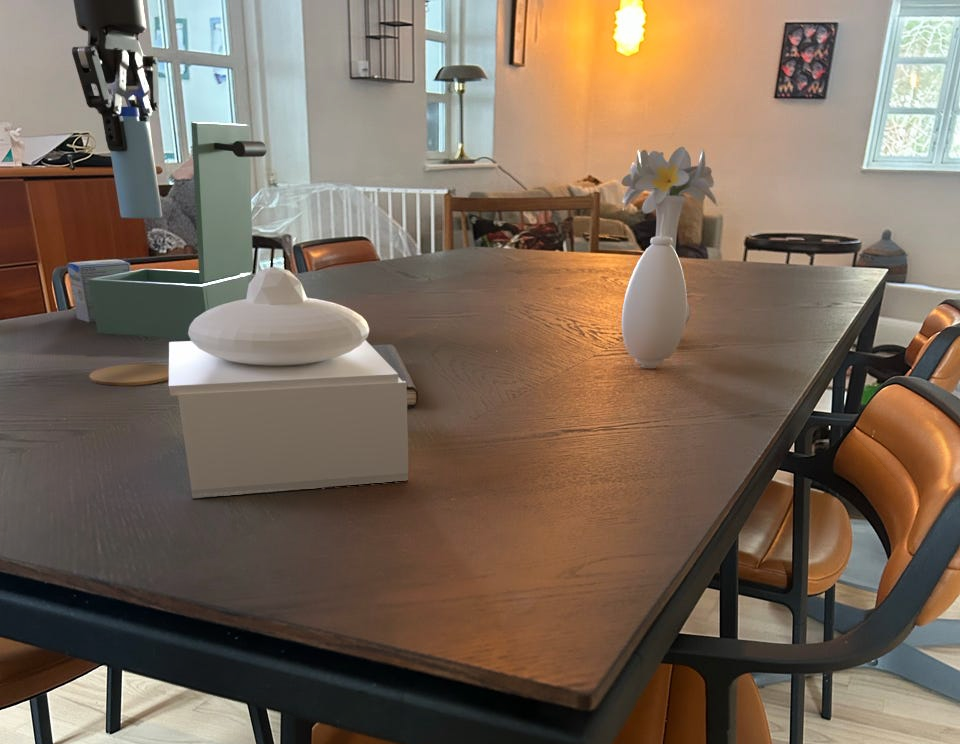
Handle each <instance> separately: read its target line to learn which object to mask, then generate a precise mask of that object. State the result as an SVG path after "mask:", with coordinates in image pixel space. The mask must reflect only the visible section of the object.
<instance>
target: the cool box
mask: <svg viewBox="0 0 960 744" xmlns="http://www.w3.org/2000/svg"><path fill="white" fill-rule="evenodd" d="M251 280H252V274H251V273H243V274H238V275H234V276H230V277H226V278H222V279H218V280H213V281H209V282H205V283H203V282H199V270H183V269H182V270H181V269H179V270H178V269H160V268H139V269H135V270H131V271H129V272H124V273H119V274H114V275H109V276H104V277H99V278H93V279H89V280H88V282H89V287H90V293H91V298H92V304H93V309H94V315H95V326H96V331H97V334H111V335H122V336H123V335H125V336H138V337H153V338H166V339H178V340H191V339H190V337H189V335H188V331H189V327H190V325H191V323H192V322H193V321H194V319H195V318H197V317H198V316H199V315H201V314H202V313H204V312H206V311H207V310H210V309H212V308H214V307H217V306H219V305H222V304H226V303H230V302H234V301H238V300H244V299H246V297H247V291H248V285H249V283H250V282H251Z"/></svg>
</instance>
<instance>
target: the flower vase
mask: <svg viewBox="0 0 960 744" xmlns="http://www.w3.org/2000/svg"><path fill="white" fill-rule="evenodd" d="M706 162H707V161H706V151H705V149H704V148H702V150H701V153H700V156H699V160H698V164H697V165H692V159H691V156H690V153H689V151H687V150H686V148H685V147H684V146H680V147H678V148H676V149H675V150H674V151H673V152H672V154H671V156H670V157H669V159H668V161H667V160H666V158H665V157H664V152H663V151H662V152H659V151H657V150H651V152H648V150H647V149H642V150H641V151H639V149H638V150H637V154H636V164H635V162H632V164H631V166H630V173H628V174H626V175H625V176H624V177H623V178H622V179H621V184H622V186H624V187H627V189H626V191H625V193H624V195H623V198H622V204H624V203H625V204H624V206H623V209H622V211H624V210H625V209H626V208H627V206H628V205H629V204H630V203H631V202H633V201H634V200H636V199H637V198H638V197H639V196H641V194H642V193H643V192H645V191H647V192H649V194H648V196H647V197H646V198H645V200H644V202H643V203H642V204H643V205H642V207H641V210H642V212H643V214H650V213H652V212H654V211H655V218H656V224H655V236H654V237H657V236H660V230H661V223H662V217H663V214H664V213H665V230H664V236H665V237H670V238H672V244H670V245H671V246H672V247H673V248H674V250H675V251H676V247H677V236H678V228H679V222H680V218H681V213H682V210H683V206H684V204H685V202H686V201H687V196H686V195H688V196H690V197H691V198H693V199H694V200H696V201H699V202H702V201H704V200H705V199H706V197H707V198H708V199H709V200H710V201H711V202H712V203H713V204H714V205H715V206H716V207H718V206H719V205H718V202H717V199H716V197H715V195H714V193H713V192H712V190H711V189H710V188H713V187H714V186H715V181H714V177H713V175H712V171H713V170H712V169H711V167H709V166H706V165H707V163H706ZM650 192H651V193H650ZM690 318H691V307H690V304H689V303H688V301H687V312H686V321H685V326H686V325H687V323H688V322H689V320H690Z"/></svg>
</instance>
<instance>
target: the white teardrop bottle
mask: <svg viewBox="0 0 960 744" xmlns="http://www.w3.org/2000/svg"><path fill="white" fill-rule="evenodd" d="M664 230H665V213H664V214H663V217H662V223H661V230H660V236H657V237H655V236H653V237H651V238H650V241H649V243H650V245H649V246H648V247H647V248H646V249H645V250H644V252H643V253H642V255H641V256H640V258H639V259H638V262H637V263H636V265H635V267H634V270H633V272H632V274H631V276H630V279H629V282H628V285H627V288H626V291H625V296H624V299H623V305H622V312H621V334H622V339H623V340H622V341H623V344H624V346H625V349H626V351H627V354H628V356H630V357H631V358H635V359H634V362H635V364H638V365H641V368H643V369H649V370H650V369H656V368H657V366H661V365H663V364H664V362H665V360H667V359H670V358H671V357H672V356H673V355H674V353H675V351H676V350H677V348H678V347H679V344H680V342H681V339H682V337H683V334H684V331H685V326H686V325H685V321H686V312H687V302H688V301H687V300H688V296H687V287H686V280H685V276H684V275H685V274H684V270H683V267H682V264H681V261H680V258H679V256H678V254H677V252H676V250H674V248H673V247H672V246H671V245H670V244H672V238H670V237H665V236H664Z"/></svg>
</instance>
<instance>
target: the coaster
mask: <svg viewBox="0 0 960 744" xmlns="http://www.w3.org/2000/svg"><path fill="white" fill-rule="evenodd" d="M88 377H89V380H90V382H93V383H95V384H98V385H102V386H103V385H104V386H115V387H128V386H129V387H131V386H133V387H134V386H144V385H152V384H158V382H159V383H163V382H167V381H169V365H167V364H159V363H158V364H157V363H130V364H120V365H112V366H106V367H101V368H99V369H96V370H94V371H93V370H92V372H90V373H89V375H88Z"/></svg>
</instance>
